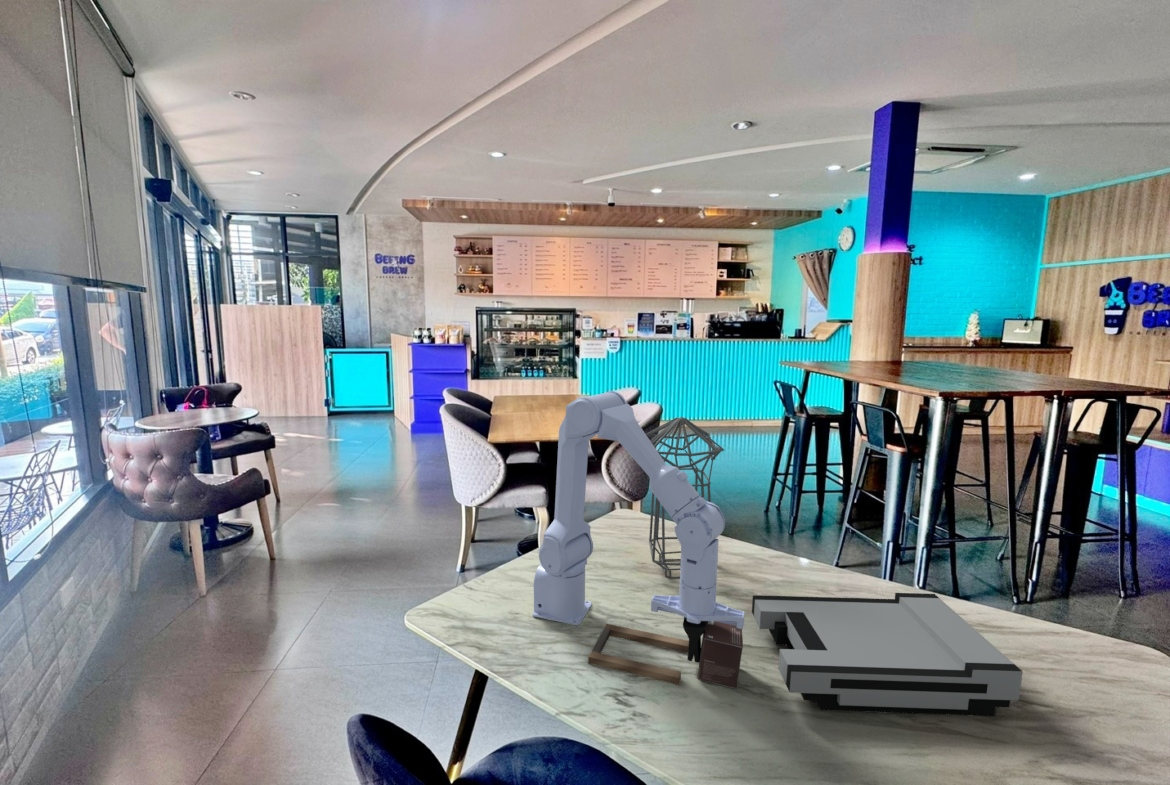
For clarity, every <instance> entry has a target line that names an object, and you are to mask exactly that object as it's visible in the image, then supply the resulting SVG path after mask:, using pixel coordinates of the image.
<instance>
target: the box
mask: <svg viewBox="0 0 1170 785" xmlns="http://www.w3.org/2000/svg"><path fill="white" fill-rule="evenodd" d="M743 638H744V637H743V629H739V628H736V625H731V624H726V623H721V622H715V621H707V623H706V628H705V630H704V632H703V634H702V637H701V652H700V660H699V663H698V673H697V674H698V675H697V679H698V680H700V681H703V682H707V683H709V684H716V685H718V686H723V687H726V688H732V689H737V688H738V681H739V674H740V667H741V660H742V655H743V649H744V644H743V643H744V641H743V640H744V639H743Z"/></svg>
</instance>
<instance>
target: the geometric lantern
mask: <svg viewBox="0 0 1170 785" xmlns="http://www.w3.org/2000/svg"><path fill="white" fill-rule="evenodd" d="M686 427H687V428H689V430H691V431H692V432H693V433H690V434H687V429H686ZM661 430H662V431H661ZM659 431H660V432H659ZM677 431H678V432H677ZM682 431H683V434H684V435H682V436H681V432H682ZM657 432H659V433H657ZM655 433H657V434H655ZM645 434H646V436H647V437H648V438H651V440H650V439H649V440H650V441H651V443H652V444H653V446H654V447H655V449H656V450H657V452H658V453H659V454H660V456H661V457H662V459H663V460H664V462H665V463H668V464H669V465H670V466H674V467H678V468H679V470H680V471H688V470H689V471H691V470H692V471H693V472H694V474H695V475H694V478H695V479H694V480H695V481H694V484H691V485H692V486H693V487H694V489H695V490H696V491H697V492H698V487H700V491H701V492H700V496H701V498H704V499H705V487H707V488H706V489H707V502H711V501H712V500H711V499H712V498H711V484H712V483H711V478H712V477H711V476H712V470H713V464H714V461H715V460H716V457H718V456H719V454H720V453H721V452H724V451H725V449H724V447H722V446H720V444H719V443H717V442H716V441H715V440H713V439H712V437H711V435H710V433H709V432H707V431H706V430H703V429H702V428H700V427H699V426H697V425H696V424H695V423H692V422H691V421H690V420H689V418H686V417H684V416H683V417H682V416H680V417H675V418H672V419H671V420H669V421H667V422H665V423H663V424H661V425H659V426H658V427H656V428H654V429H652V430H650V431H649V432H646V433H645ZM676 434H677V436H676ZM671 435H672V436H671ZM690 437H694V438H692V440H690V441H689V438H690ZM699 438H700V440H702V441H703V442H704V443H705V444H706V445H707V446H708V447H707V448H708V450H707V451H701V452H694V453H692V451H691V447H690V446H691V445H692V444H694V442H695V441H697V439H699ZM668 439H670V440H671V443H670V445H669V444H668V443H666V441H667V440H668ZM681 439H683V444H682V447H679V446H680V441H681ZM663 440H664V441H663ZM674 440H676V442H675V443H676V444H675V447H674ZM659 444H661V445H660V446H659V447H658V445H659ZM663 446H665V447H667V448H668V450H667V451H660V450H661V449H662V447H663ZM657 447H658V449H657ZM686 449H687V450H686ZM671 450H673V451H671ZM674 450H675V451H674ZM678 451H684V452H678ZM663 455H665V457H664V456H663ZM670 455H671V456H672V455H674V460H675V463H673V462H672V461H671V460H669V459H668V456H670ZM703 455H705V456H703ZM695 456H696V457H697V456H703V457H702V458H699V459H697V460H696V461H694V460H693V458H692V457H695ZM678 457H688V461H689V464H683V465H679V464H678ZM710 460H711V463H710V469H709V475H708V476H707V474H706V473H705V469H706V467H707V465H708V463H709V461H710ZM703 461H705V462H704V464H703V466H702V468H701V469H699V468H698V466H697V464H699V463H701V462H703ZM699 473H700V475H699ZM704 477H705V479H706V481H707V483H705V482H704ZM698 482H699V483H698ZM711 503H712V502H711ZM654 504H655V505H654ZM654 506H655V507H654ZM650 507H651V508H650V522H649V537H648V545H649V550H650V555H651V556H650V557H651V562H652V563H654V564H656V565H658V567H660V568H661V570H662V572H663V575H664V577H665V578H669V579H680V576H679V575H676V576H674V575H673V576H672V571H680V567H681V558H666V555H668V554H669V555H670V554H681V550H679V551H666V540H678V539H677V536H666V533H665V527H666V526H665V524H666V522H665V508H664V507H663V506H662V505H661V503H660V502H659V500H658V499H657V498H656V497H655V495H654V494H653V493H652V492H651V503H650ZM660 508H661V510H660ZM660 511H661V513H660ZM660 514H661V536H662V537H661V536H659V529H660V528H659V527H660ZM659 540H661V543H662V546H661V544H660V541H659ZM656 543H657V546H658V548H659V550H658V549H657V547H656ZM656 553H657V554H658V560H656ZM670 561H671V562H670ZM672 561H673V562H672ZM675 561H680V562H675ZM669 566H679V568H670V567H669ZM668 571H669V575H668Z"/></svg>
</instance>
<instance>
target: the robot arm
mask: <svg viewBox="0 0 1170 785" xmlns="http://www.w3.org/2000/svg"><path fill="white" fill-rule="evenodd" d="M558 429H559V430H558V441H557V442H558V443H557V447H558V448H557V464H556V480H555V496H554V497H555V498H554V500H555V502H554V516H553V518H554V519H553V521H551V524H550V525H549V526H548V528H547V529H546V530H545V531H544V533H543V538H542V543H541V545H540V547H539V548H538V558H539V559H538V560H539V563H540V564H539V565H538V567H537V568H536V571H535V574H534V579H533V612H532V614H531V615H532V617H535V618H538V619H539V618H540V619H543V620H544V619H545V620H549V621H554V622H559V623H563V624H567V625H568V624H569V625H573V626H579V625H580V624H581V623H582V621H583V619H584V618H585V616H586V614H587V613H588V611H589V610H590V609H591V607H592V606H593V602H591V601H590V600H589V601H588V600H586V565H588V558H589V557H591V555H592V554H593V552H594V542H593V539H592V538H593V537H592V535H591V525H590V524H589V523H588V522H586V521H585V519H584V518H585V507H586V506H585V505H586V489H587V487H586V486H587V474H588V456H589V442H590V440H591V439H593V438H594V437H596V438H599V439H604V440H609V441H613V442H614V441H615V442H617V443H618V442H619V444H620V445H621V446H622V447H623V448H624V449H625V451H626V452H627V453H628V454H629V455H630V456H631V457H632V459H633V460H634V461H635V463H637V464H638V466H639V467H640V468H641V469H642V470H643V472H644V473H645V474H647V476H648V477H649V490H650V491H651V494H652V493H653V494H654V498H655V499H656V498H657V499H658V500H659V502H660V505H661V507H662V506H663V507H664V511H665V512H667V513H668V515H669V516H670V518H671V519H672V520H673V522H674V523H675V524H676V526H674V534H675V537H677V539H676V540H678V541H679V544H680V551H681V553H680V559H681V561H680V563H681V566H679V568H680V570H679V572H680V573H679V575H680V578H679V594H678V595H659V594H653V595H652V598H651V600H650V601H651V602H650V603H651V604H650V612H654V613H658V612H666V613H670V614H676V615H678V616H681V617H683V623H682V626H683V627H682V628H683V630H684V632H685V633H686V634H685V635H686V636H687V638H688V641H689V649H688V653H687V661H689V662H692V661H693V658H694V662H695V663H697V664H699V660H700V652H701V645H702V637H703V632H704V630H705V628H706V623H707V621H715V622H721V623H726V624H731V625H736V628H739V629H742V630H744V625H745V611H744V610H739V609H735V608H732V607H730V606H727V605H725V604H723V603H722V604H721V603H720V602H717V601H716V600H717V581H718V580H717V579H718V561H719V560H718V559H719V538H718V537H719V536H721V534H722V533H723V531H724V530H725V527H726V519H725V516H724V514H723V512H722V510H721V509H720V507H719V506H718V505H717V504H715V502H708V500H706V499H705V497H704V498H701V494H699V492H698V490H697V491H696V490H695V486H692V485H693V484H692V483H691V482H690V481H689V480H688V478H689V475H688V474H687V473H686V472H685V470H679V468H678V467H674V466H672V465H670V464H669V465H668V464H667V462H666V461H665V462H664V460H663V459H662V457H661V456H660V455H661V454H659V453H658V452H659V451H658V452H657V450H658V449H657V448H655V447H654V444H652V443H651V441H650V439H649V438H650V437H649V436H646V433H645V431H644V430H643V428H642V427H641V425H640V424H639V423H638V421H637V419H636V417H635V412H634V408H633V407H632V406H631V405H630V404H629V403H628V402H627V401H626V399H625V397H624V396H623V395H622V394H621V393H619V392H617V391H614V390H609V391H606V392H604V393H599V394H594V395H593V394H592V395H590V396H581V397H580V396H579V397H578V398H576V399H574V400H573V401H571V402H570V403H568V404H566V406H565V416H564V418H563V420H562V422H561V424H560V425H559V428H558Z"/></svg>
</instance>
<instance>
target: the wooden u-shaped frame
mask: <svg viewBox="0 0 1170 785" xmlns="http://www.w3.org/2000/svg"><path fill="white" fill-rule="evenodd" d="M610 637H612V638H613V637H614V638H618V639H623V640H626V641H631V642H637V643H641V644H645V645H649V646H656V647H660V648H664V649H669V650H673V651H678V652H682V653H687V654H688V649H689V640H688V639H687V640H686V639H681V638H677V637H672V636H668V635H663V634H658V633H653V632H649V631H645V630H638V629H636V628H635V629H634V628H629V627H624V626H620V625H615V624H609V623H605V625H604V627H603V629H602V631H601V632H600V635H599V636H598V638H597V640H596V642H595V644H594V645H593V647H592V649H591V651H590V653H589V654H588V657H587V663H588V664H589V665H593V666H599V667H602V668H603V667H604V668H607V669H610V670H614V671H619V672H624V673H626V674H627V673H628V674H631V675H636V676H640V677H644V678H647V679H648V678H649V679H653V680H657V681H662V682H664V683H665V682H666V683H670V684H673V685H679V686H680V683H681V679H682V670H676V669H673V668H672V669H671V668H669V667H664V666H660V665H659V666H658V665H655V664H650V663H646V662H642V661H638V660H634V659H633V660H632V659H629V658H624V657H620V656H616V655H611V654H606V653H603V650H604V649H605V647H606V645H607V642H608V641H609V639H610Z"/></svg>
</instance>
